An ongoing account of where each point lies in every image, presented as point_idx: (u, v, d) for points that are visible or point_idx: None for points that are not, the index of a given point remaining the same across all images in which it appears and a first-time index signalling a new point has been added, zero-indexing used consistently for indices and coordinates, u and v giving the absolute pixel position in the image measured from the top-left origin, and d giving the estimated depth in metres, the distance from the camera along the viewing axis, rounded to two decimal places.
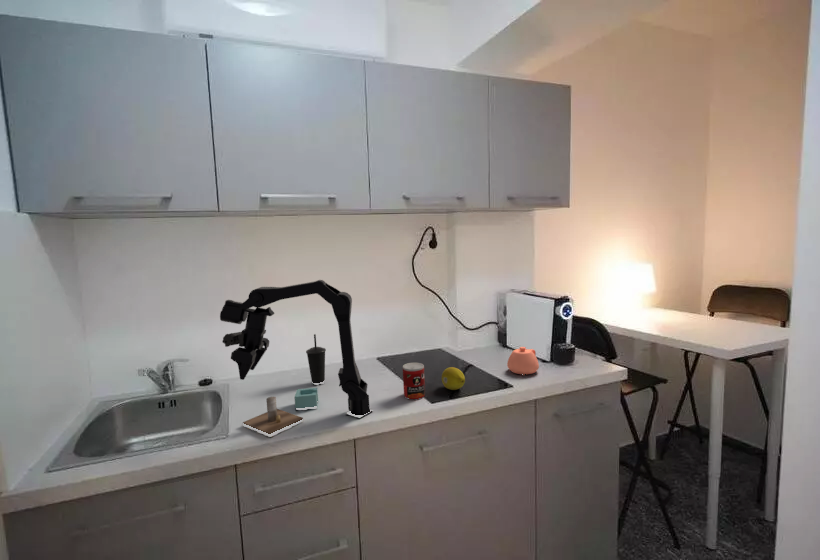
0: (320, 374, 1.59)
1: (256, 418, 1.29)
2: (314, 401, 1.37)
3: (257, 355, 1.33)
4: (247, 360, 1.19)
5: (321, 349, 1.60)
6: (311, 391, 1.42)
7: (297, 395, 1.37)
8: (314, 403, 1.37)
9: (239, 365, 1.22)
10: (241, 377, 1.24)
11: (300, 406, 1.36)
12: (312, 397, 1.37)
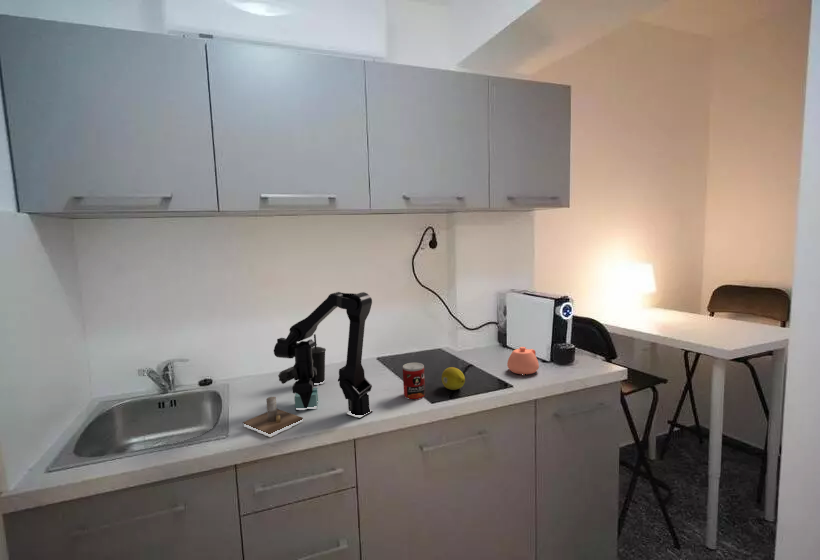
0: (320, 374, 1.59)
1: (256, 418, 1.29)
2: (314, 401, 1.37)
3: None
4: (308, 390, 1.30)
5: (321, 349, 1.60)
6: None
7: (297, 395, 1.37)
8: (314, 403, 1.37)
9: (301, 395, 1.34)
10: (304, 405, 1.36)
11: (300, 406, 1.36)
12: (312, 397, 1.37)
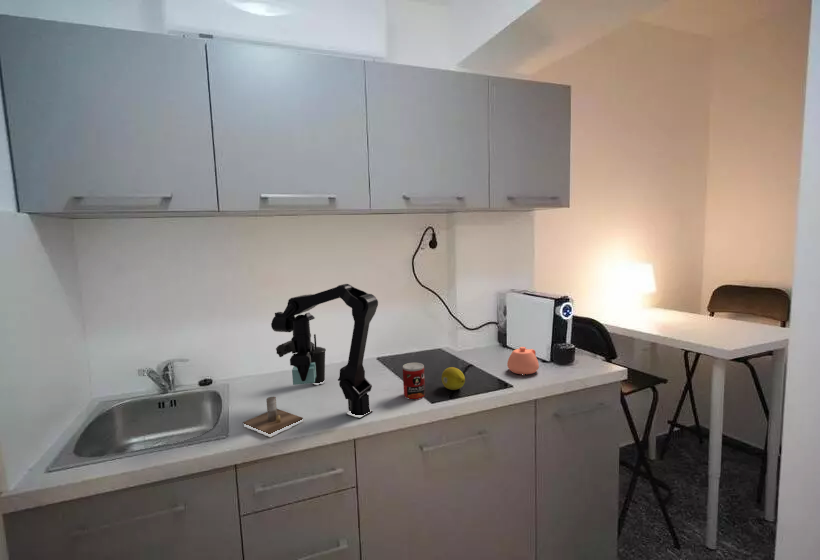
0: (320, 374, 1.59)
1: (256, 418, 1.29)
2: (312, 375, 1.36)
3: None
4: (306, 362, 1.29)
5: (321, 349, 1.60)
6: None
7: (295, 369, 1.36)
8: (312, 377, 1.36)
9: (298, 368, 1.33)
10: (302, 379, 1.35)
11: (297, 379, 1.35)
12: (310, 371, 1.36)
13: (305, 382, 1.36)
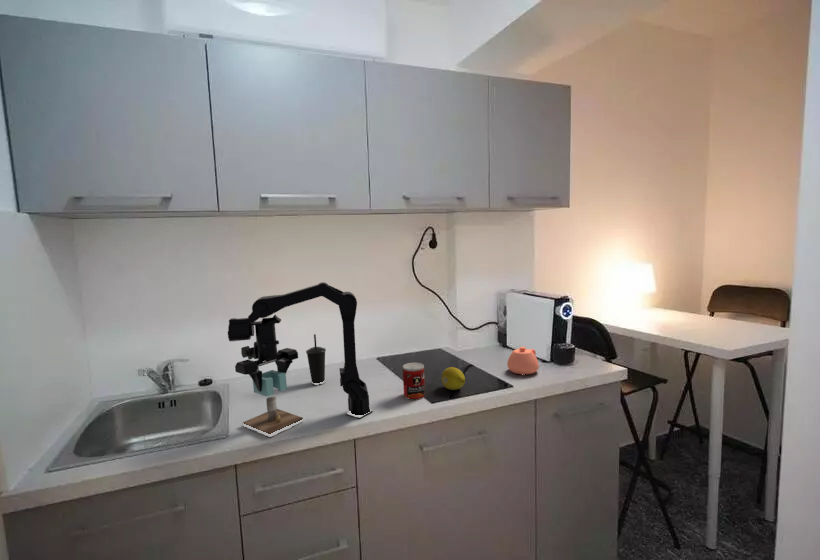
0: (320, 374, 1.59)
1: (256, 418, 1.29)
2: (265, 387, 1.21)
3: (281, 368, 1.28)
4: (243, 372, 1.17)
5: (321, 349, 1.60)
6: None
7: None
8: (265, 389, 1.21)
9: (251, 377, 1.22)
10: (258, 389, 1.23)
11: (256, 388, 1.24)
12: (263, 382, 1.21)
13: (261, 393, 1.23)
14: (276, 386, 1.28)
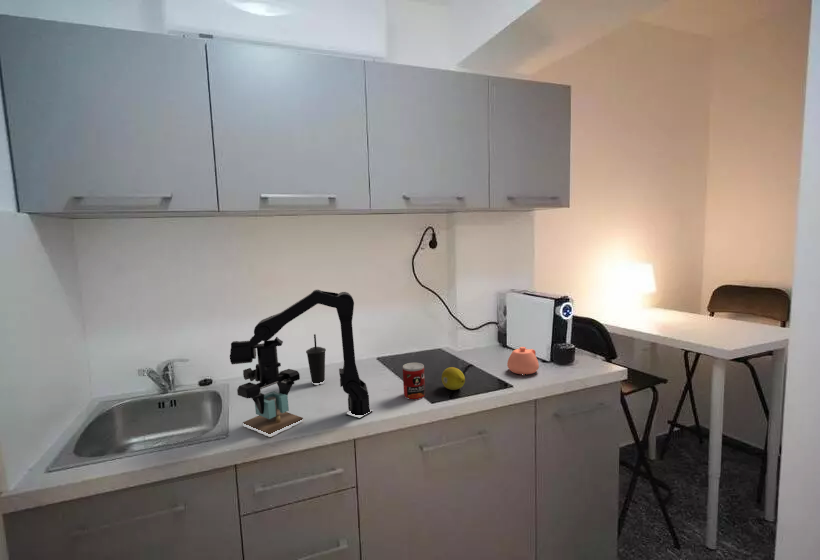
0: (320, 374, 1.59)
1: (256, 418, 1.29)
2: (267, 409, 1.22)
3: (283, 389, 1.29)
4: (246, 396, 1.17)
5: (321, 349, 1.60)
6: None
7: None
8: (267, 412, 1.22)
9: (253, 399, 1.22)
10: (260, 411, 1.24)
11: (258, 410, 1.25)
12: (265, 404, 1.22)
13: (263, 415, 1.24)
14: (278, 407, 1.28)
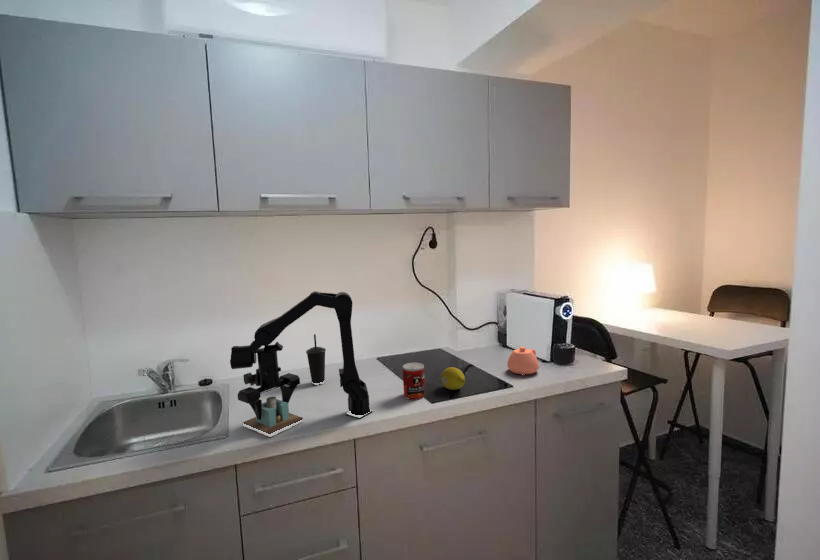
0: (320, 374, 1.59)
1: None
2: (267, 417, 1.22)
3: (286, 393, 1.30)
4: (246, 401, 1.17)
5: (321, 349, 1.60)
6: None
7: None
8: (268, 420, 1.22)
9: (251, 405, 1.22)
10: (258, 417, 1.23)
11: None
12: (266, 412, 1.22)
13: (264, 423, 1.24)
14: None
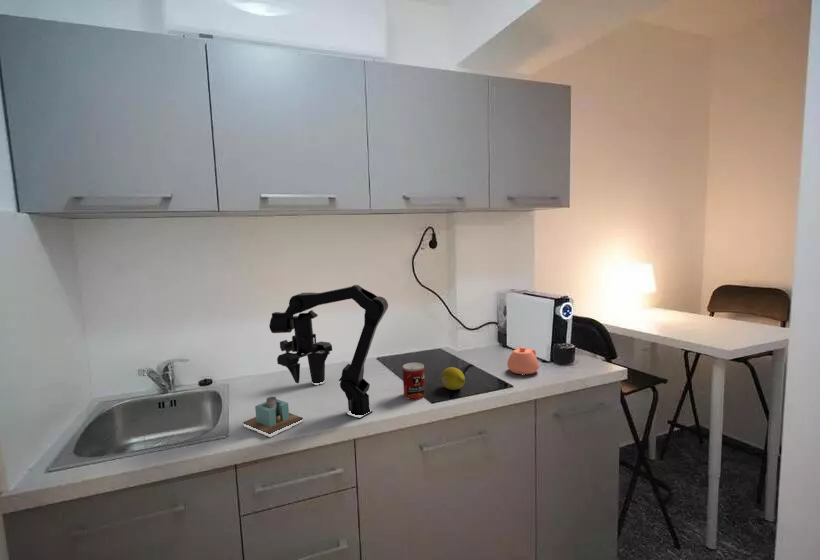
0: (320, 374, 1.59)
1: None
2: (267, 417, 1.22)
3: (319, 359, 1.37)
4: (286, 364, 1.24)
5: None
6: None
7: (259, 405, 1.26)
8: (268, 420, 1.22)
9: (289, 369, 1.29)
10: (296, 381, 1.30)
11: (259, 417, 1.25)
12: (266, 412, 1.22)
13: (264, 423, 1.24)
14: None
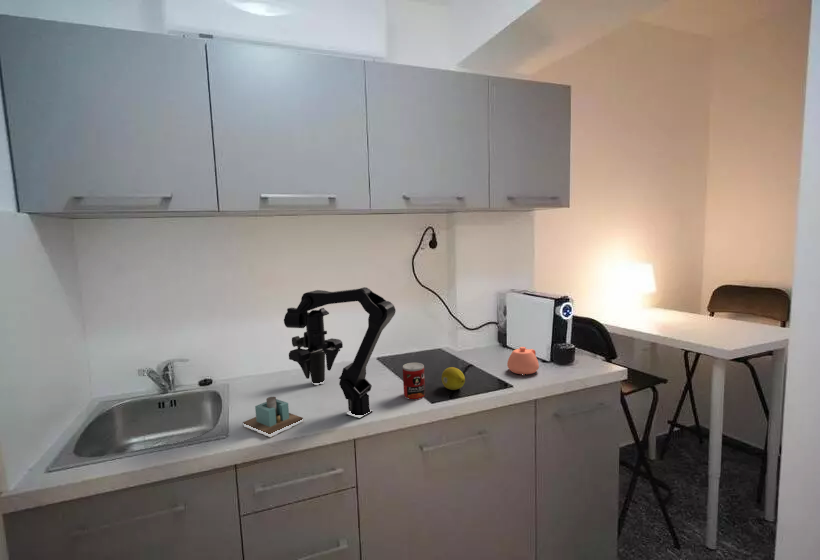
0: (320, 374, 1.59)
1: None
2: (267, 417, 1.22)
3: (330, 356, 1.39)
4: (297, 359, 1.27)
5: None
6: None
7: (259, 405, 1.26)
8: (268, 420, 1.22)
9: (300, 365, 1.31)
10: (306, 376, 1.32)
11: (259, 417, 1.25)
12: (266, 412, 1.22)
13: (264, 423, 1.24)
14: None
